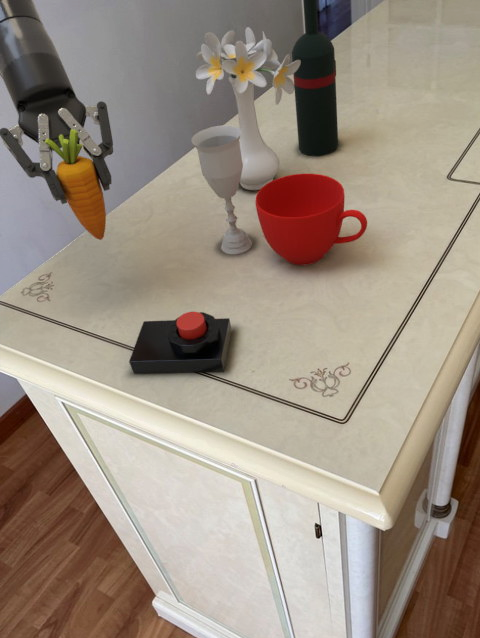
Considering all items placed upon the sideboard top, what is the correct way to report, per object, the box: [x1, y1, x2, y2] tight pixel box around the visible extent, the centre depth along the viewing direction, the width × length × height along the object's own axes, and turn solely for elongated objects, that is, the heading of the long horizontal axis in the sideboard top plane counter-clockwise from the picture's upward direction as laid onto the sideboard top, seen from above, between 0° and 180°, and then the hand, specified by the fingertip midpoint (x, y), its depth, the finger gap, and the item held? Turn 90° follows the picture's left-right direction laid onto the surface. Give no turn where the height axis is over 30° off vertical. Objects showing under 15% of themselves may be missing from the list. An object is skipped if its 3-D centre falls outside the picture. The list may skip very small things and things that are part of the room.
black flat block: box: [128, 311, 233, 374], centre depth 77 cm, size 12×8×4 cm, turn 86°
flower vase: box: [195, 26, 301, 191], centre depth 101 cm, size 13×18×25 cm
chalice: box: [191, 124, 253, 255], centre depth 89 cm, size 7×7×18 cm
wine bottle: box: [291, 0, 339, 157], centre depth 108 cm, size 8×10×30 cm
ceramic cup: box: [254, 173, 368, 266], centre depth 87 cm, size 13×17×10 cm
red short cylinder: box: [176, 311, 207, 340], centre depth 75 cm, size 4×4×2 cm
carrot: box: [45, 129, 107, 241], centre depth 76 cm, size 5×5×15 cm
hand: (85, 194), depth 75 cm, fingers closed on carrot, 5 cm apart
